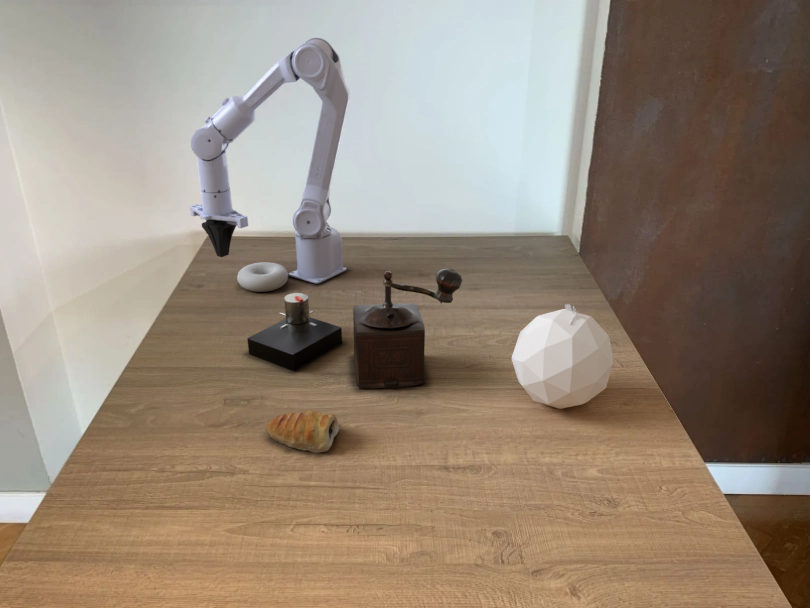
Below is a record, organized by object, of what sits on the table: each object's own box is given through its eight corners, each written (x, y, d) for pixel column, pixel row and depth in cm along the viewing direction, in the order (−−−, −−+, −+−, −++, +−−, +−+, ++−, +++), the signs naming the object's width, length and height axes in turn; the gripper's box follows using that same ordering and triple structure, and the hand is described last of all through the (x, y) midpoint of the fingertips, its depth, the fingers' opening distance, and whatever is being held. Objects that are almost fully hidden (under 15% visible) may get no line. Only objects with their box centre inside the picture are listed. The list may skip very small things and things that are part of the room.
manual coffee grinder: (356, 391, 111) (353, 279, 102) (352, 357, 120) (349, 251, 112) (459, 386, 112) (465, 274, 103) (447, 352, 122) (451, 247, 113)
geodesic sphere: (504, 329, 115) (515, 282, 102) (597, 330, 115) (621, 283, 101) (507, 420, 109) (519, 383, 96) (605, 422, 109) (632, 385, 95)
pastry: (260, 447, 98) (258, 423, 96) (277, 420, 104) (275, 397, 102) (329, 456, 96) (327, 431, 95) (342, 428, 102) (341, 404, 100)
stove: (297, 321, 133) (295, 305, 131) (350, 338, 126) (349, 321, 125) (239, 350, 123) (237, 333, 121) (294, 371, 116) (293, 353, 115)
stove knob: (281, 318, 127) (279, 294, 125) (302, 312, 129) (301, 289, 126) (292, 326, 124) (291, 302, 122) (313, 320, 126) (312, 297, 124)
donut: (282, 296, 143) (293, 275, 152) (281, 279, 141) (292, 259, 150) (232, 294, 144) (245, 274, 153) (230, 277, 142) (243, 258, 151)
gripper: (174, 187, 146) (183, 253, 153) (226, 200, 138) (233, 268, 145) (201, 180, 151) (209, 244, 157) (253, 191, 143) (259, 258, 150)
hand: (222, 255), depth 152 cm, fingers closed
